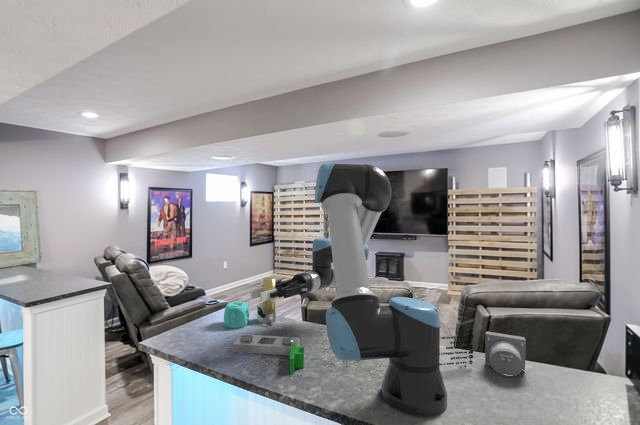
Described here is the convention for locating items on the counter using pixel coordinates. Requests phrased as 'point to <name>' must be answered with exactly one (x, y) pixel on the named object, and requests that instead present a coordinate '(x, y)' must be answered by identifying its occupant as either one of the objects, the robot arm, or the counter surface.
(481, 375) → the counter surface
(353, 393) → the counter surface
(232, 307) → the decorative dice
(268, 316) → the mug
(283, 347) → the plate with dome knobs
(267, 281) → the link pin
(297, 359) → the pipe clamp
